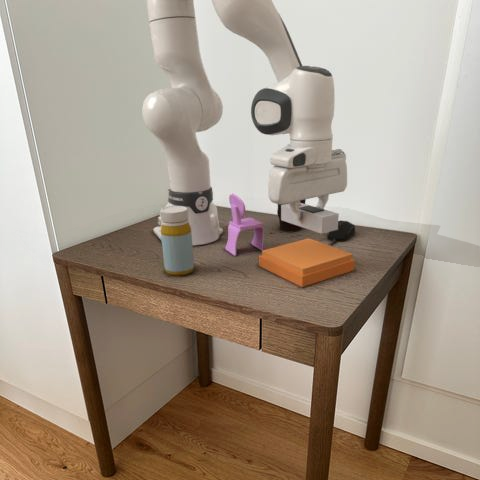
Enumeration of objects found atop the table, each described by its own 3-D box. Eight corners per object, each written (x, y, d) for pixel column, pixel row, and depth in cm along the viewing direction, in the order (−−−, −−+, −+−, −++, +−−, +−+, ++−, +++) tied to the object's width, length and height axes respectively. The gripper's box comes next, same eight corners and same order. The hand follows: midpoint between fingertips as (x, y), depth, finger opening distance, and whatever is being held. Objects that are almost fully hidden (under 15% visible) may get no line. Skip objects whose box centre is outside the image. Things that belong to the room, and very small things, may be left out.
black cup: (293, 222, 143) (294, 190, 138) (310, 229, 137) (312, 195, 132) (262, 229, 138) (262, 195, 133) (279, 236, 131) (279, 201, 127)
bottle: (166, 266, 113) (159, 206, 106) (194, 265, 113) (189, 204, 106) (164, 277, 107) (157, 214, 100) (194, 275, 107) (189, 212, 100)
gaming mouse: (319, 243, 125) (320, 229, 123) (336, 228, 137) (337, 215, 135) (342, 246, 122) (343, 231, 121) (357, 231, 134) (358, 217, 132)
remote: (280, 220, 109) (281, 203, 107) (296, 216, 111) (296, 200, 109) (321, 233, 98) (322, 215, 96) (337, 229, 100) (339, 212, 99)
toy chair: (266, 251, 121) (266, 193, 114) (236, 257, 117) (234, 198, 110) (252, 242, 127) (251, 187, 120) (223, 247, 124) (220, 191, 117)
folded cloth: (259, 266, 112) (258, 250, 110) (308, 252, 119) (309, 237, 117) (302, 287, 100) (302, 270, 98) (354, 270, 108) (355, 254, 106)
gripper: (335, 146, 104) (332, 206, 111) (263, 156, 95) (264, 222, 101) (356, 149, 100) (351, 212, 106) (282, 160, 90) (282, 228, 97)
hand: (308, 217), depth 104 cm, fingers closed on remote, 5 cm apart
